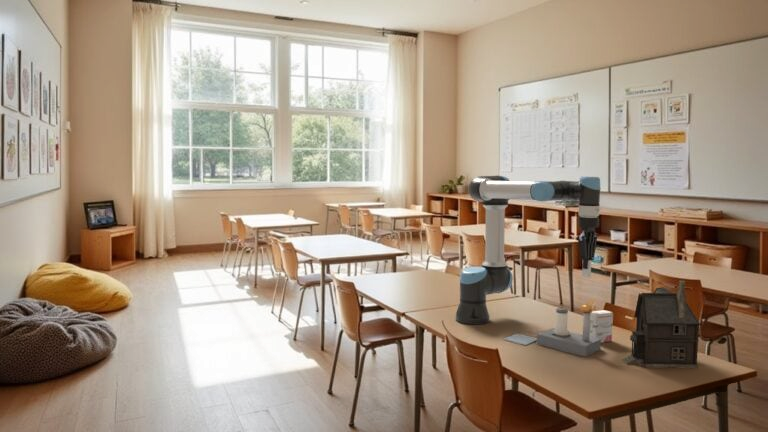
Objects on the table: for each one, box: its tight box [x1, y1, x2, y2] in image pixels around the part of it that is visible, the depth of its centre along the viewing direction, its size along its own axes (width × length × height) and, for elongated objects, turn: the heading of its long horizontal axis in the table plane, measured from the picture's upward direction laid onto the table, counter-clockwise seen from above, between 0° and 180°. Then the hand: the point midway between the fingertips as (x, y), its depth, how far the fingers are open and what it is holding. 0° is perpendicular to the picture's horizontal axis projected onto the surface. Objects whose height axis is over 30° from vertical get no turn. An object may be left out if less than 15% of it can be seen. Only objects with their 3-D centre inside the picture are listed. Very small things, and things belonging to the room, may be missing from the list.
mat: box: [503, 333, 537, 346], centre depth 222 cm, size 10×10×1 cm
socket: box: [536, 312, 602, 358], centre depth 214 cm, size 20×12×15 cm, turn 44°
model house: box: [621, 280, 702, 369], centre depth 199 cm, size 16×23×30 cm
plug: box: [553, 307, 571, 338], centre depth 216 cm, size 6×6×14 cm
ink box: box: [589, 309, 614, 343], centre depth 221 cm, size 9×5×12 cm, turn 112°
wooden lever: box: [581, 298, 598, 314], centre depth 213 cm, size 16×4×5 cm, turn 149°
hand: (586, 276), depth 217 cm, fingers closed
